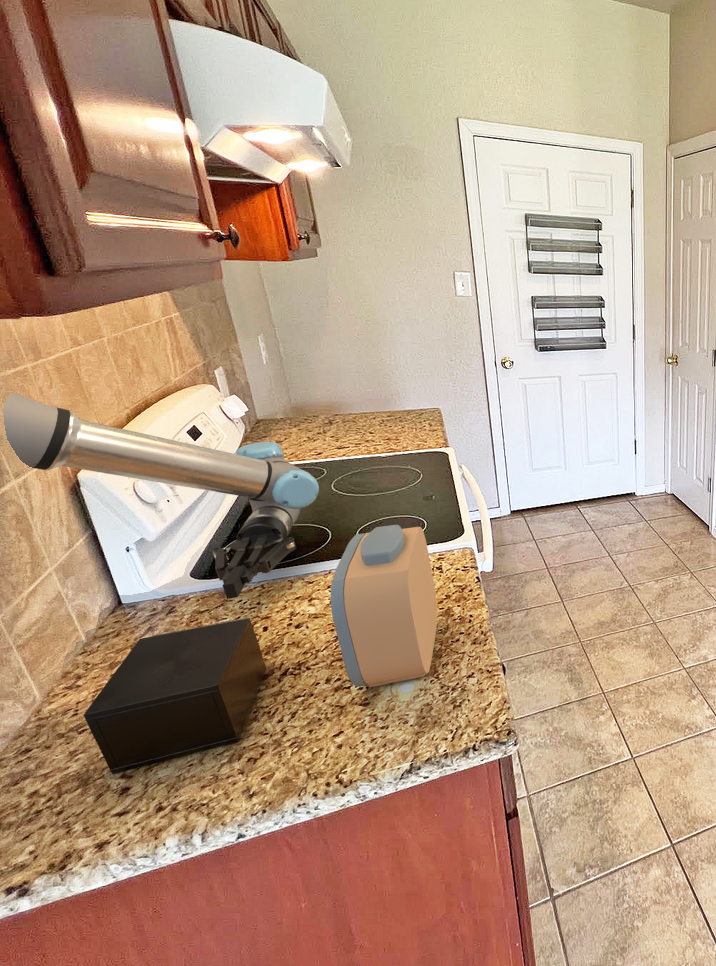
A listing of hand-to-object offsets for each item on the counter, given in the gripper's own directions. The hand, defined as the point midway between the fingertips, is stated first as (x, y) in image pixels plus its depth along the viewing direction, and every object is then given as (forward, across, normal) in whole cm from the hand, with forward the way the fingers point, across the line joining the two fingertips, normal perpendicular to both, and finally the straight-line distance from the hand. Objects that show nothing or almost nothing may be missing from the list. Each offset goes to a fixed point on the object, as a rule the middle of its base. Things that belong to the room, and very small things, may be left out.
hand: (230, 591), depth 96 cm
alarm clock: (+20, -25, -7) cm, 33 cm away
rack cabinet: (+22, 0, -7) cm, 23 cm away
